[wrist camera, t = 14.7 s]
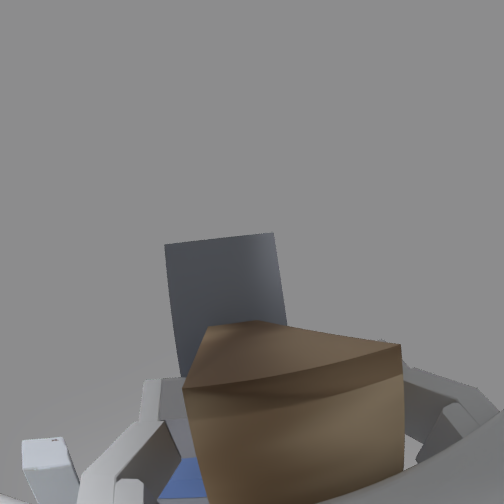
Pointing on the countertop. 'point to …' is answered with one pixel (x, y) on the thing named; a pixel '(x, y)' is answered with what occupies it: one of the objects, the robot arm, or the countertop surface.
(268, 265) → the l-shaped step block
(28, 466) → the skincare box
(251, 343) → the slide box
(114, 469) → the robot arm
